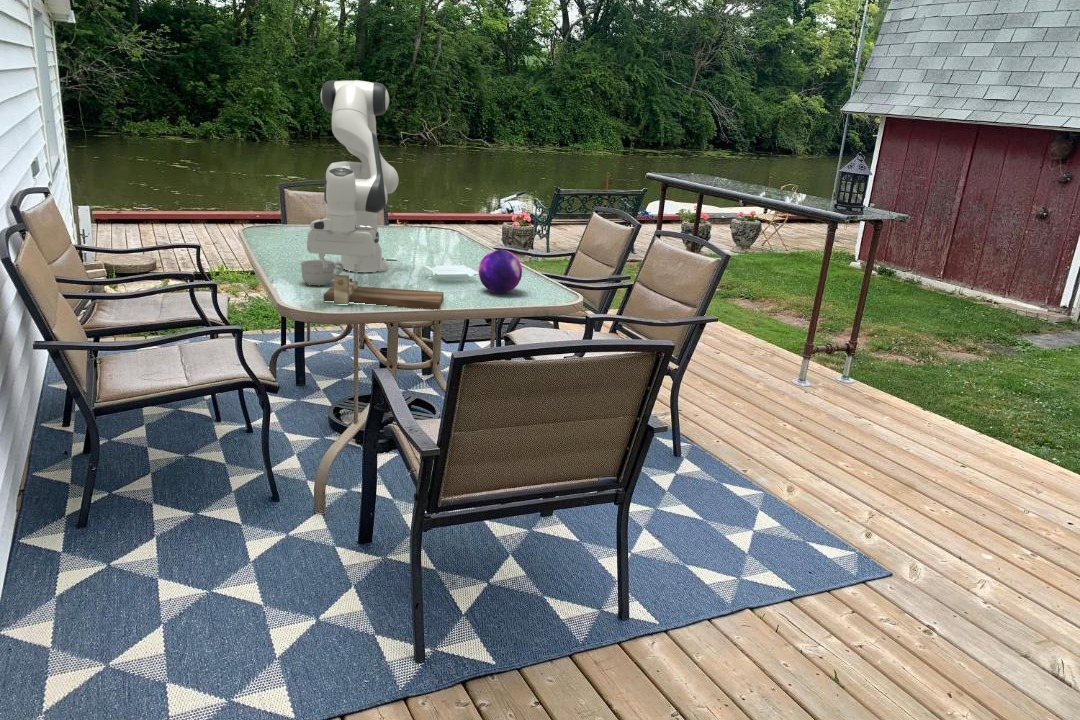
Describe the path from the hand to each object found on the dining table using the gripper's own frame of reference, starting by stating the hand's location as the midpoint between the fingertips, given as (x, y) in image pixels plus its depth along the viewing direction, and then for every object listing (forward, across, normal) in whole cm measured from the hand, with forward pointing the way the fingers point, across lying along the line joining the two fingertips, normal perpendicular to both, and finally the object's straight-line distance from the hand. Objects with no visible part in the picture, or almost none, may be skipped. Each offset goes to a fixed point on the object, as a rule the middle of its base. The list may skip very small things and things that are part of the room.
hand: (341, 269), depth 246 cm
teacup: (+11, +12, -26) cm, 31 cm away
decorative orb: (+11, -48, -31) cm, 58 cm away
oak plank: (+11, -12, -9) cm, 19 cm away
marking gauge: (+11, 0, -7) cm, 13 cm away
